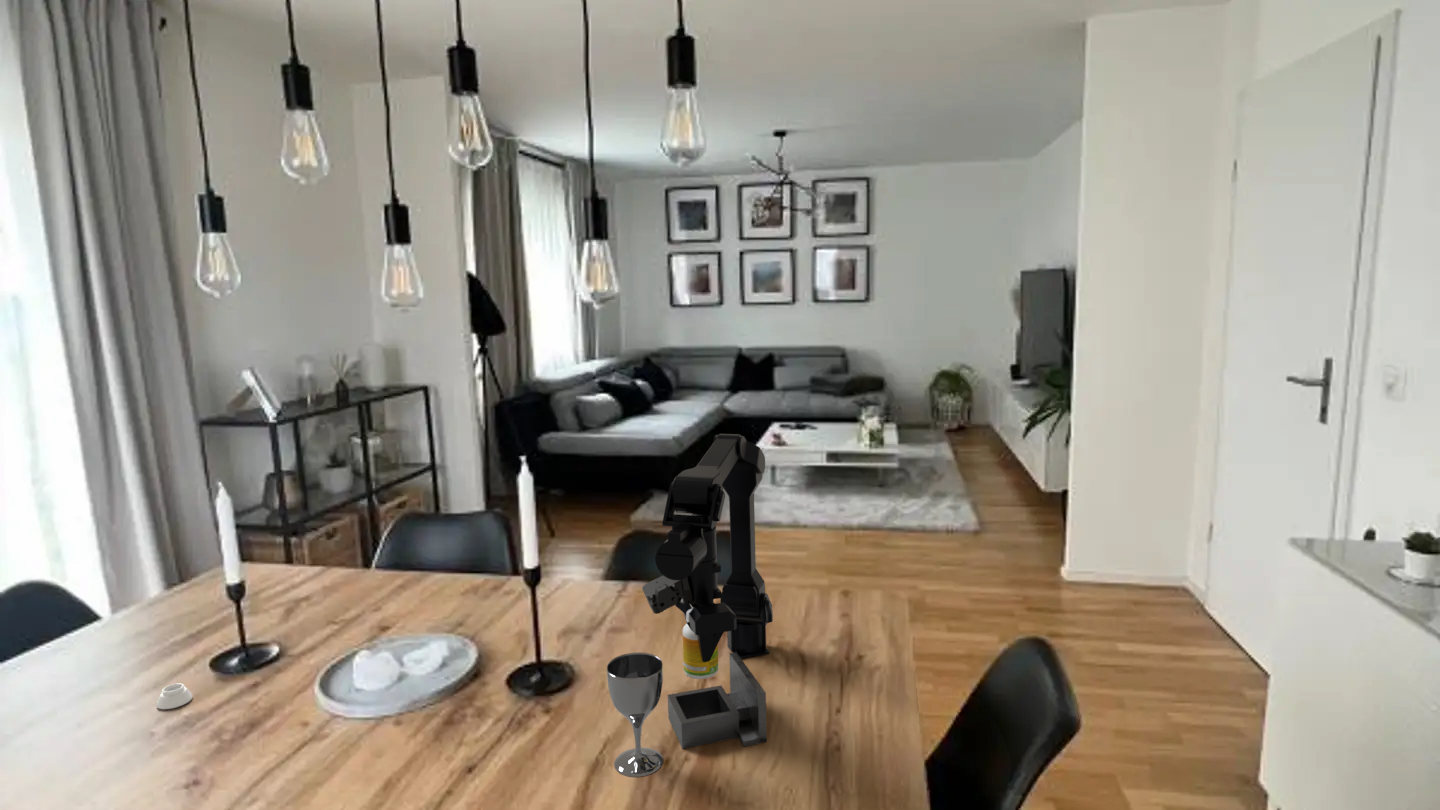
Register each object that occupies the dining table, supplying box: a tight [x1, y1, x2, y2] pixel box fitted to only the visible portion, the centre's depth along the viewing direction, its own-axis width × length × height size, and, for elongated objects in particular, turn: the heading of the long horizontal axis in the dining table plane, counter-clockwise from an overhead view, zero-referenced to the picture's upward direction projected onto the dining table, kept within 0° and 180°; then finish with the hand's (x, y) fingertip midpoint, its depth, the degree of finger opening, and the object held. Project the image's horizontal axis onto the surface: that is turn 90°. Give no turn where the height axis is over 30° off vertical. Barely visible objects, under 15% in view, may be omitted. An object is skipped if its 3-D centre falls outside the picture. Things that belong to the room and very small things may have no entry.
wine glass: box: [606, 652, 664, 778], centre depth 112 cm, size 8×8×15 cm
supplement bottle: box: [682, 609, 719, 680], centre depth 120 cm, size 5×5×10 cm
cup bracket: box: [667, 652, 767, 750], centre depth 121 cm, size 12×14×8 cm
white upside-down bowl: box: [156, 682, 194, 710], centre depth 133 cm, size 5×3×5 cm
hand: (700, 653), depth 120 cm, fingers closed on supplement bottle, 5 cm apart
